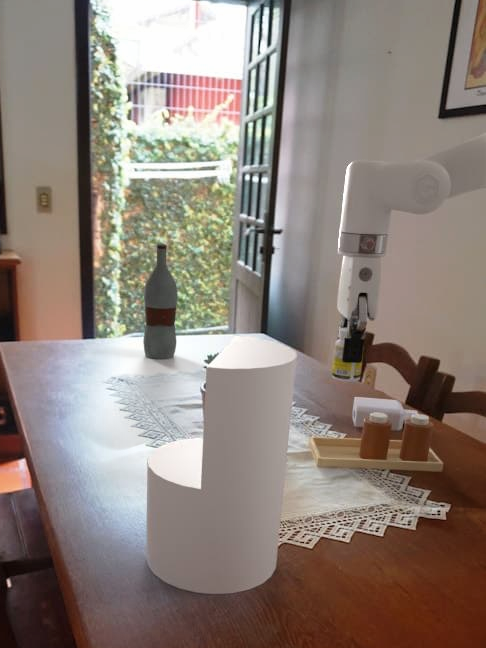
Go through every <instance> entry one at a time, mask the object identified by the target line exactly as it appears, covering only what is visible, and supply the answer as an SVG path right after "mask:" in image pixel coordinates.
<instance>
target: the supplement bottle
mask: <svg viewBox="0 0 486 648" xmlns="http://www.w3.org/2000/svg"><path fill="white" fill-rule="evenodd" d="M338 331H339V334H338V333H337V338H338V337H339V338H340V339H339V340H336V341H335V345H334V353H333V361H332V371H331V372H332V373H331V374H332V375H331V377H332V378H333V380H335V381H338V382H343V383H355V382H358V381H360V380H361V374H362V366H363V361H362V362H361V363H347V362H343V361H342V356H343V347H344V339H345V338H347V328H340V329H339V328H338ZM364 350H365V348H364V349H363V352H364ZM363 358H364V356H363V357H362V360H363Z"/></svg>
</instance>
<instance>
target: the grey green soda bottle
mask: <svg viewBox="0 0 486 648" xmlns="http://www.w3.org/2000/svg"><path fill="white" fill-rule="evenodd" d="M167 247H168V245H167V244H165V243H158V244H156V265H155V267H154V268H153V270H152V272H151V274H150V275H149V276H148V278H147V279H146V281H145V285H144V292H143V302H144V303H143V304H144V317H145V327H144V333H143V349H144V350H143V351H144V355H145V358H146V357H147V358H149V359H154V360H169V359H173V358H174V357H175V354H176V348H177V332H176V325H175V324H176V317H177V316H176V314H177V305H178V295H179V294H178V286H177V282H176V280H175V278H174V277H173V275H172V273H171V271H170V269H169V268H168V266H167Z"/></svg>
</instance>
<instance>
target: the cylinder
mask: <svg viewBox="0 0 486 648" xmlns="http://www.w3.org/2000/svg"><path fill="white" fill-rule="evenodd" d="M297 357H298V356H297V351H295V350H294V349H293V348H291V347H290V346H287V345H285V344H282V343H279V342H276V341H273V340H269V339H265V338H259V337H253V336H245V335H236V334H235V336H234V337H233V338H232V339H231V340H230V341H229V343H228V344H227V345H226V346H225V347H224V348H223V349H222V350H221V351H220V352H219V353H218V354H217V355H216V356H215V358H214V359H212V360H211V362H210V363H209V364H208V365H207V366H206V370H205V389H204V390H205V391H204V408H203V409H204V410H203V411H204V412H203V413H204V414H203V433H202V437H193V438H182V439H178V440H174V441H171V442H167V443H164V444H162V445H160V446H157V447H156V448H155V449H154V450H152V451H151V452H150V453H149V455H148V457H147V460H146V523H145V525H146V526H145V527H146V530H145V531H146V533H145V534H146V535H145V536H146V537H145V558H146V564H147V567H148V568H149V569H150V571H151V572H152V574H153V575H155V576H156V577H157V578H158V579H159V580H161V581H163V582H164V583H165V584H168V585H171V586H173V587H175V588H177V589H181V590H184V591H188V592H192V593H196V594H208V595H224V594H225V595H226V594H235V593H240V592H244V591H248V590H251V589H253V588H256V587H258V586H261V585H263V584H264V583H265V582H266V581H268V580H269V579H270V578H271V577H272V576H273V574H274V572H275V570H276V569H277V562H278V551H279V541H280V540H279V539H280V531H281V530H280V529H281V520H282V509H283V502H284V501H283V500H284V499H283V498H284V490H285V479H286V471H287V461H288V460H287V459H288V451H289V450H288V448H289V441H290V439H289V438H290V429H291V419H292V408H293V398H294V390H295V389H294V388H295V380H296V379H295V377H296V370H297V369H296V367H297V359H298V358H297Z"/></svg>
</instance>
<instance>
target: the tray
mask: <svg viewBox="0 0 486 648" xmlns="http://www.w3.org/2000/svg"><path fill="white" fill-rule="evenodd" d="M401 443H402V439H390V441H389V447H388V453H387V459H386V460H371V459H362V458H360V457H359V451H360V444H361V438H354V437H353V438H352V437H350V438H349V437H329V436H309V437H308V446H309V449H310V452H311V454H312V457H313V459H314V462H315V464H316V467H317V468H318V467H320V468H345V469H365V470H367V469H369V470H391V471H413V472H414V471H416V472H443V468H444V462H443V461H442V460H441V459H440V457H439V456H438V455H437V454H436V453H435V452H434V450H433V449H432V447H430V449H429V454H428V459H427V462H419V461H403V460H401V459H400V457H399V455H400V449H401Z"/></svg>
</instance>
